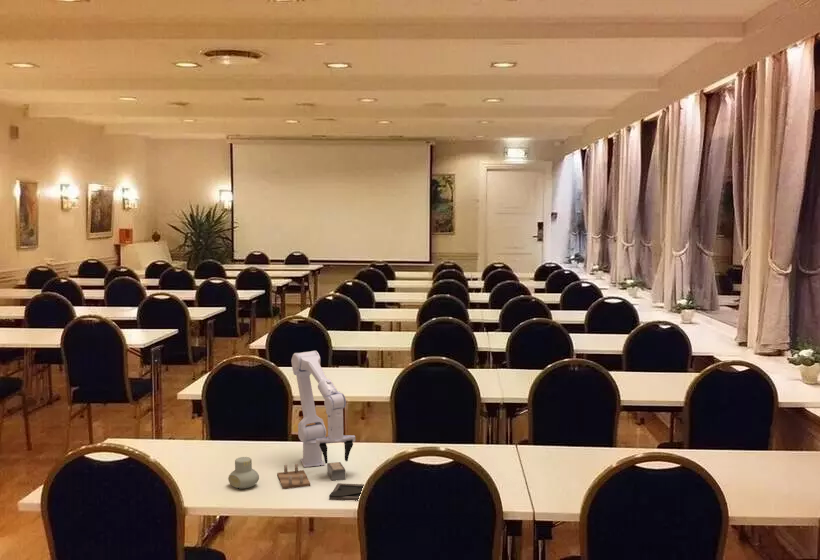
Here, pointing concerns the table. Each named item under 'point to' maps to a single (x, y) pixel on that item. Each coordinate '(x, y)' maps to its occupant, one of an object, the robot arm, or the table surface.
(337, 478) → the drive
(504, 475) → the table surface
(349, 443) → the robot arm
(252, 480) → the air freshener
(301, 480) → the pegged wooden board
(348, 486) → the picture frame
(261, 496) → the table surface
